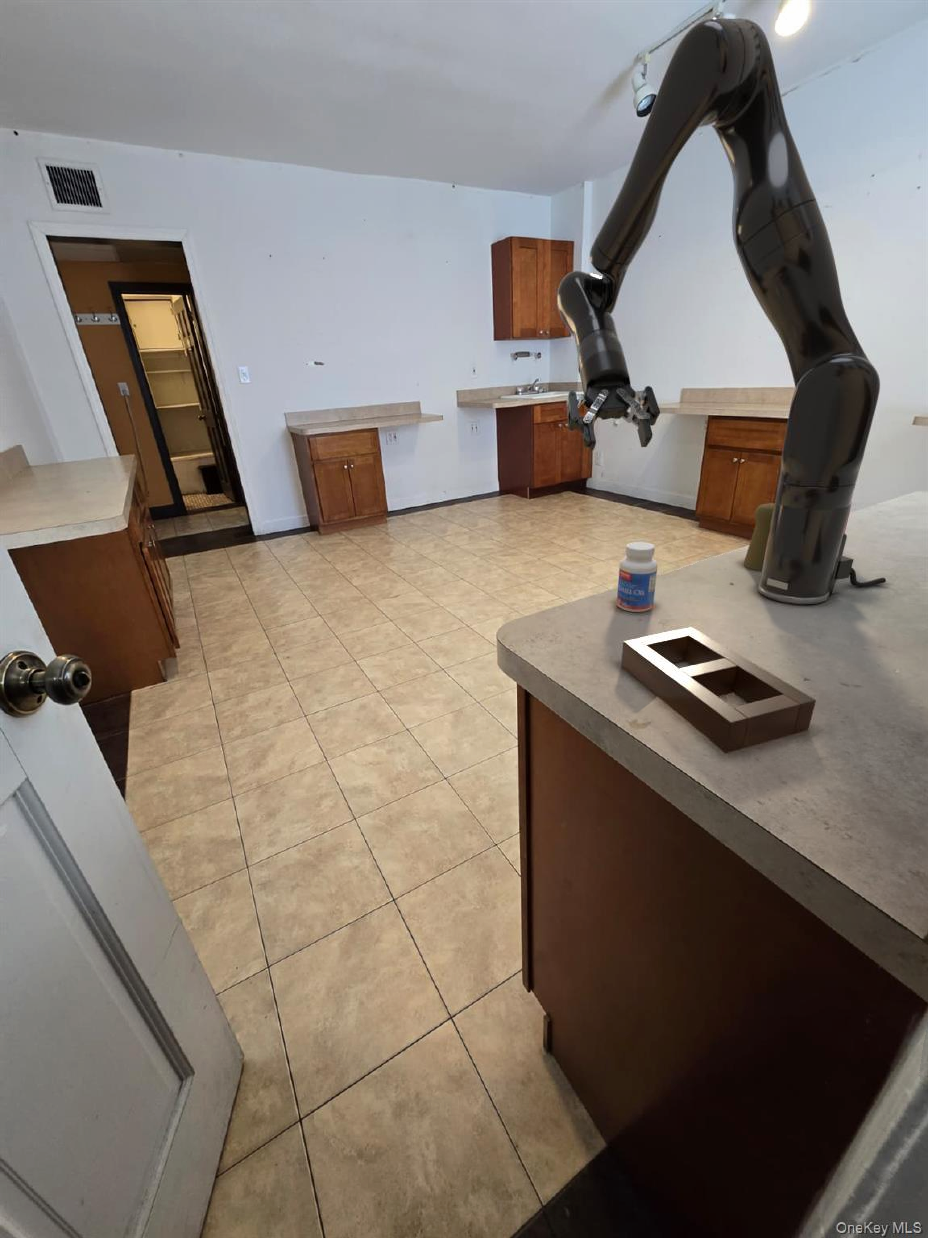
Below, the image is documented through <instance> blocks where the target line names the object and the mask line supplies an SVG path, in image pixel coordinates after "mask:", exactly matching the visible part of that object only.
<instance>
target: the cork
mask: <svg viewBox="0 0 928 1238" xmlns="http://www.w3.org/2000/svg"><path fill="white" fill-rule="evenodd" d="M774 504H775V502H773V503H772V502H771V503H763V504H760V505H759V506H757V507H756V509H755V511H754V515H753V516H754V517H753V518H754V521H755V522H756V523H755V527H754V530H753V533H752V535H751V539H750V542H749V544H748V548H747V551H746V554H745V557H744V560H743V563H742V564H743V566H744V567H746V568H747V569H749V570H754V571H758V572H759V571H760V572H762V567H763V562H764V557H765V552H766V547H767V541H768V536H769V531H770V526H771V520H772V515H773V510H774Z"/></svg>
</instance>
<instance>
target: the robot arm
mask: <svg viewBox="0 0 928 1238" xmlns="http://www.w3.org/2000/svg"><path fill="white" fill-rule="evenodd" d="M784 108H785V107H784V104H783V100H782V95H781V90H780V85H779V80H778V77H777V73H776V67H775V63H774V59H773V54H772V51H771V47H770V43H769V40H768V37H767V35H766V33H765V32H764V30H763V29H762V27H761V26H760V25H759V24H758V23H756V22H755V21H753V20H751V19H747V18H726V17H718V18H717V17H716V18H715V17H714V18H707V19H705V20H701V21H699V22H698V23H696V24H695V25H694V26H693V27H691V28H690V29H689V30H688V32H686V34H685V35H684V36H683V37H682V39H681V41H680V42H679V43H678V45H677V47H676V48H675V50H674V53H673V55H672V57H671V59H670V61H669V64H668V65H667V68H666V70H665V73H664V76H663V78H662V81H661V83H660V86H659V88H658V92H657V94H656V97H655V100H654V102H653V104H652V107H651V111H650V113H649V116H648V118H647V120H646V124H645V127H644V129H643V132H642V134H641V137H640V138H639V139H640V140H639V142H638V145H637V147H636V149H635V152H634V156H633V157H632V161H631V163H630V166H629V169H628V171H627V174H626V177H625V179H624V181H623V183H622V186H621V188H620V190H619V192H618V194H617V196H616V199H615V201H614V203H613V204H612V206H611V208H610V211H609V212H608V214H607V216H606V218H605V220H604V222H603V224H602V226H601V228H600V229H599V231H598V234H597V235H596V237H595V239H594V241H593V243H592V245H591V247H590V250H589V261H590V263H591V265H592V267H593V268H594V269H595V270H596V271H597V272H598V273H599V274H601V275H598V274H593V273H590V272H585V271H582V270H573V271H570V272H568V273H567V274H566V275H565V276H563V278H562V280H561V281H560V283H559V286H558V289H557V294H556V303H557V310H558V312H559V315H560V318H561V319H562V321H563V322H564V324H565V326H566V328H567V329H568V331H569V333H570V335H571V336H572V337H573V338H574V344H575V347H576V354H577V367H578V369H577V370H578V374H579V376H580V381H581V386H582V391H583V394H577V392H576V391H575V390H571V391H569V392H568V395H567V400H566V404H565V405H566V415H567V423H568V430H569V431H571V432H573V431H577V430H578V431H579V432H580V433H581V437H582V442H583V446H584V447H585V448H587V450H588V451H594V450H595V448H596V445H597V439H596V434H595V428H594V424H595V423H596V421H597V419H598V418H599V419H601V420H602V421H604V420H610V419H615V420H620V419H623V420H624V421H625V422H627V423H628V424H630V423H631V424H633V425H634V426H635V427H636V428H637V429H636V430H637V434H638V438H639V443H640V447H641V448H648V445H649V444H650V442H651V441H652V439H653V436H654V434H653V430H652V426H654V425H655V424H656V423H657V420H658V418H659V417H660V414H661V410H660V407H659V404H658V401H657V398H656V395H655V392H654V389H653V387H652V386H650V385H647V386H645V387H644V390H635V389H634V388H633V387H632V385H631V378H630V373H629V370H628V365H627V360H626V356H625V353H624V348H623V345H622V343H621V341H620V339H619V335H618V331H617V326H616V323H615V320H614V317H613V315H612V313H613V312H614V310H615V308H616V305H617V303H618V300H619V295H620V292H621V289H622V287H623V284H624V281H625V278H626V275H627V272H628V270H629V268H630V265H631V264H632V263H633V260H635V258H636V256H637V255H638V253H639V251H640V249H641V248H642V246H643V244H644V243H645V242H646V239H647V238H648V237H649V234H650V232H651V230H652V229H653V226H654V223H655V222H656V218H657V214H658V212H659V208H660V205H661V199H662V195H663V190H664V188H665V187H664V186H665V183H666V180H667V178H668V175H669V173H670V171H671V168H672V167H673V165H674V163H675V161H676V160H677V158H678V156H679V154H680V153H681V151H682V150H683V149H684V147H685V146H686V145H687V143H688V142H689V140H690V139H691V137H692V136H693V134H695V132H696V131H697V130H698V129H699V128H705V127H712V128H713V130H714V131H715V133H716V135H717V137H718V139H719V142H720V143H721V145H722V148H723V150H724V152H725V155H726V157H727V161H728V163H729V166H730V169H731V175H732V182H733V193H732V195H733V196H732V211H731V213H732V214H731V215H732V216H731V231H732V232H731V233H732V240H733V244H734V248H735V251H736V254H737V256H738V259H739V262H740V264H741V267H742V269H743V272H744V276H745V278H746V280H747V283H748V284H749V287H750V290H751V291H752V293H753V295H754V297H755V299H756V300H757V302H758V304H759V306H760V308H761V310H762V311H763V313H764V315H765V316H766V318H767V320H769V323H770V324H771V326H772V327H773V329H774V330H775V332H776V333H777V335H778V337H779V339H780V341H781V343H782V346H783V348H784V350H785V353H786V357H787V359H788V360H787V361H788V363H789V367H790V371H791V375H792V377H793V378H792V379H793V383H794V392H793V394H792V397H791V402H790V408H789V412H788V417H787V423H786V430H785V436H784V441H783V447H782V452H781V459H780V471H779V477H778V482H777V483H778V484H777V488H776V493H775V494H776V495H775V499H774V503H775V504H774V510H773V515H772V520H771V526H770V531H769V536H768V541H767V547H766V552H765V557H764V562H763V567H762V571H761V573H760V578H759V581H758V586H757V591H758V592H759V594H760V595H762V596H764V597H765V598H768V599H771V600H773V601H777V602H781V603H785V604H786V603H787V604H792V605H793V604H794V605H815V604H816V605H817V604H821V603H824V602H826V601H827V600H828V599H829V597H830V596H832V595H833V594H834V590H835V585H836V582H837V580H838V581H839V580H844V579H849V582H850V584H851V585H852V586H854V587H856V588H869V587H873V586H876V585H881V584H885V583H886V582H887V579H886V578H885V577H879V578H875V579H871V580H869V581H865V582H861V581H858V580H857V579H858V578H857V573H856V570H855V569H854V568H853V564H854V558H850V557H847V556H844V555H843V554H844V551H845V547H846V543H847V539H848V535H847V534H846V533H844V530H845V526H846V522H847V518H848V514H849V515H850V513H849V510H850V511H851V508H850V506H851V507H852V503H851V501H852V500H853V497H854V493H855V487H856V485H857V480H858V477H859V473H860V469H861V466H862V463H863V460H864V457H865V452H866V448H867V444H868V440H869V436H870V432H871V428H872V424H873V421H874V417H875V412H876V409H877V405H878V401H879V396H880V391H881V380H880V376H879V373H878V370H877V369H876V368H875V366H874V365H873V363H872V362H871V361H870V360H869V357H868V356H867V354H866V352H865V351H864V349H863V347H862V345H861V344H860V342H859V339H858V337H857V335H856V332H855V331H854V329H853V327H852V325H851V323H850V320H849V318H848V316H847V315H848V314H847V312H846V310H845V306H844V302H843V298H842V293H841V287H840V281H839V276H838V270H837V266H836V260H835V256H834V251H833V247H832V243H831V239H830V235H829V233H828V229H827V226H826V222H825V220H824V218H823V214H822V212H821V208H820V207H819V202H818V201H817V198H816V195H815V193H814V190H813V188H812V186H811V183H810V181H809V178H808V176H807V173H806V170H805V166H804V163H803V161H802V159H801V156H800V152H799V150H798V147H797V145H796V142H795V139H794V137H793V134H792V131H791V129H790V126H789V123H788V120H787V119H788V118H787V116H786V112H785V109H784ZM581 405H583V406H584V407H585V408H586V409H587V410H588V411H587V413H586V414H585V415H584V417H580V413H579V409H580V407H581ZM629 409H630V411H629ZM848 519H849V518H848ZM847 523H848V522H847ZM846 527H847V526H846ZM845 531H846V530H845Z"/></svg>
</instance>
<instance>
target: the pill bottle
mask: <svg viewBox="0 0 928 1238" xmlns="http://www.w3.org/2000/svg"><path fill="white" fill-rule="evenodd" d="M655 549H656V546H655V545H654V544H653V543H650V542H645V541H634V542H633V541H632V542H629V543H627V544H626V547H625V555H626V556H625V557H623V558H622V559H621V560H620V562H619V569H618V583H617V594H616V605H617V606H618V607H619V608H620V609H621V610H624V611H626V612H631V613H632V612H633V613H640V612H641V613H642V612H646V611H650V609H652V608H653V606H654V601H655V592H656V582H657V575H658V562H657V560H656V559H655V558H653V557H654V556H655Z"/></svg>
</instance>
